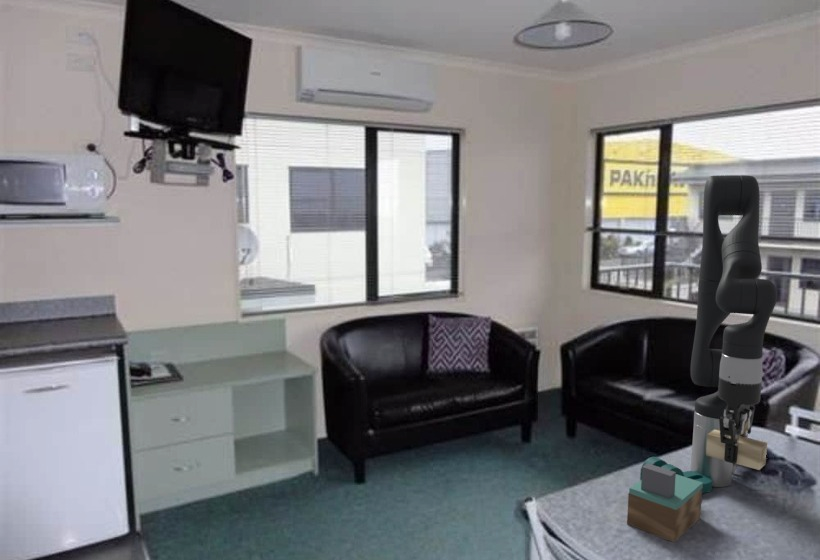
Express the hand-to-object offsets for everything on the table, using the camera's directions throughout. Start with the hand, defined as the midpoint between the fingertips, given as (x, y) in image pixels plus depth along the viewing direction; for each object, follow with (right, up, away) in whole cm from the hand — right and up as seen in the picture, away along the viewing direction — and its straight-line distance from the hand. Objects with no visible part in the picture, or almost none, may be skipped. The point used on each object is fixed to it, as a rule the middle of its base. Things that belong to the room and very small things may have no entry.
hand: (734, 458), depth 122 cm
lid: (-11, -9, +7) cm, 16 cm away
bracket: (-1, -14, +22) cm, 26 cm away
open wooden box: (-11, -16, +8) cm, 21 cm away
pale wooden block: (0, 0, 0) cm, 0 cm away
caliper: (+23, -13, +36) cm, 45 cm away
